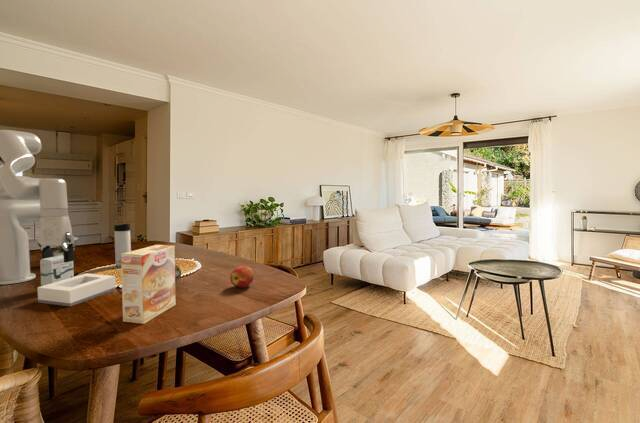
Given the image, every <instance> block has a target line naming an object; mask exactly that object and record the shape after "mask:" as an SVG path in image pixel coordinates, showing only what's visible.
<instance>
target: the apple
mask: <svg viewBox="0 0 640 423" xmlns="http://www.w3.org/2000/svg"><path fill="white" fill-rule="evenodd" d="M229 276H230V277H229V280H230V283H231V284H232V285H233V286H234V287H236V288H240V289H242V288H244V289H245V288H246V287H248V286H250V285H251V284H252V283H253V281H254V277H255V273H254V270H252V268H250V267H249V266H246V265H245V266H244V265H241V266H238V267H235V269H233V270H232V271H231V273H230V275H229Z"/></svg>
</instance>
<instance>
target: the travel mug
mask: <svg viewBox="0 0 640 423" xmlns="http://www.w3.org/2000/svg"><path fill="white" fill-rule="evenodd" d="M113 226H114V227H113V229H114V230H113V231H114V252H115V253H114V255H115V256H114V257H115V267H116V268H121V254H123V253H127V252H131V251H132V247H131V246H132V244H131V242H132V241H131V229H130V228H131V225H130V223H123V224H115V225H113Z"/></svg>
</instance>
